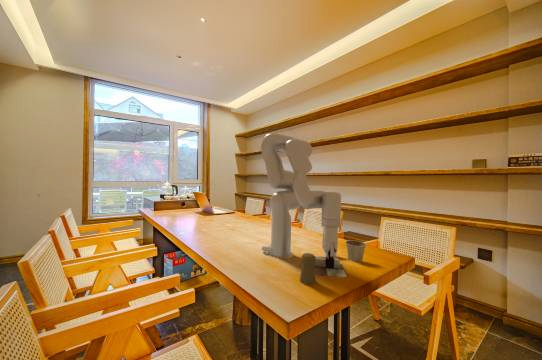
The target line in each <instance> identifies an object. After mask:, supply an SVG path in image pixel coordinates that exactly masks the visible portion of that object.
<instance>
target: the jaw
mask: <svg viewBox="0 0 542 360" xmlns="http://www.w3.org/2000/svg"><path fill="white" fill-rule="evenodd" d="M315 258H316V261H315V263H314V266H316V267H326V258H317V257H315ZM340 262H341V261H340V259H339V258H338V259H334V268H340V264H341V263H340Z"/></svg>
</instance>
